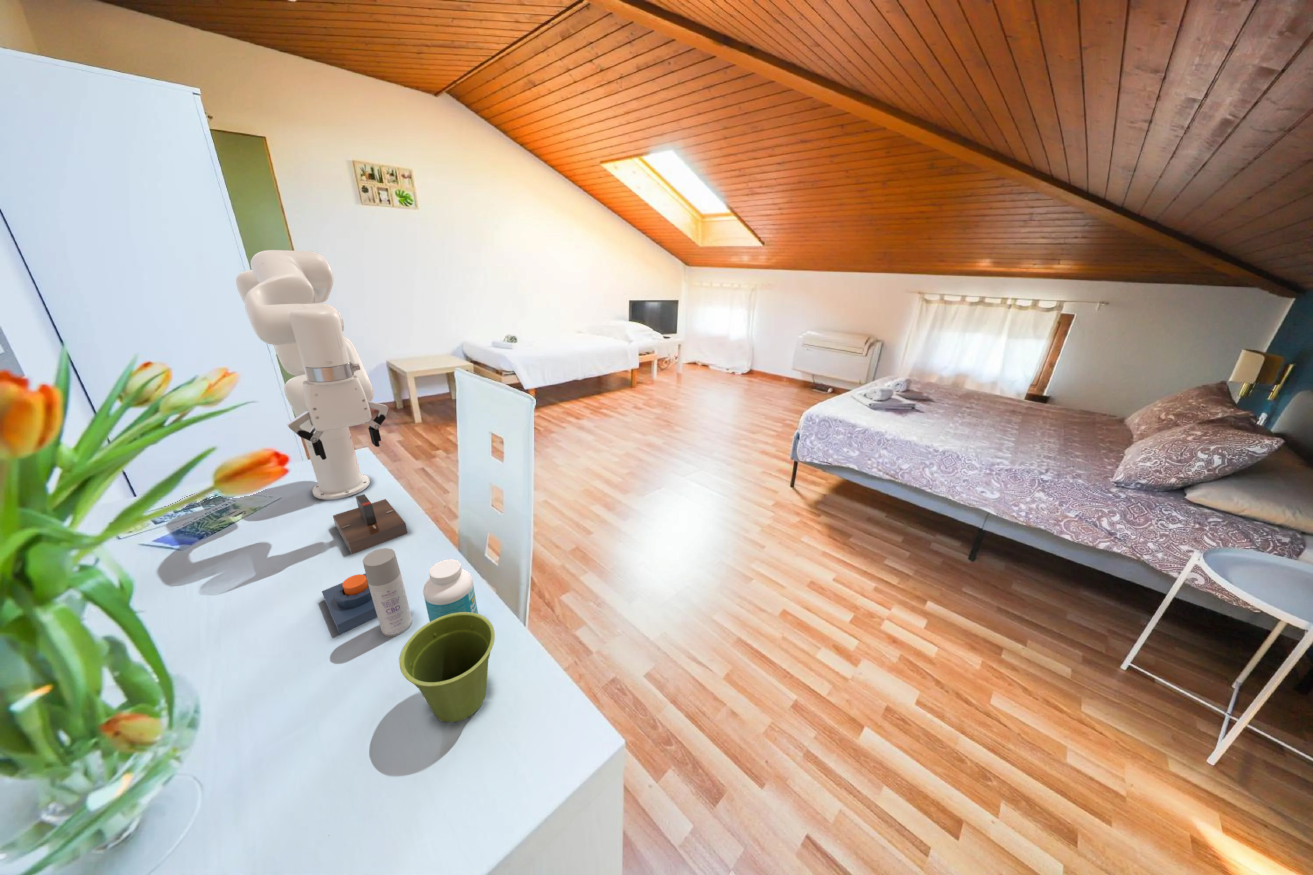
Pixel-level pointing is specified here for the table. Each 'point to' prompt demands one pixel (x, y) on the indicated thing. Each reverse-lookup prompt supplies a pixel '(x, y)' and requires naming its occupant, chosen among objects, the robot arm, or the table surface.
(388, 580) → the container
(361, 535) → the brown wooden switch base
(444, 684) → the plant pot
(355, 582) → the button
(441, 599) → the pill bottle
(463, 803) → the table surface
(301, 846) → the table surface
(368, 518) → the black boxy piece
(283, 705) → the table surface
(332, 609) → the button block
